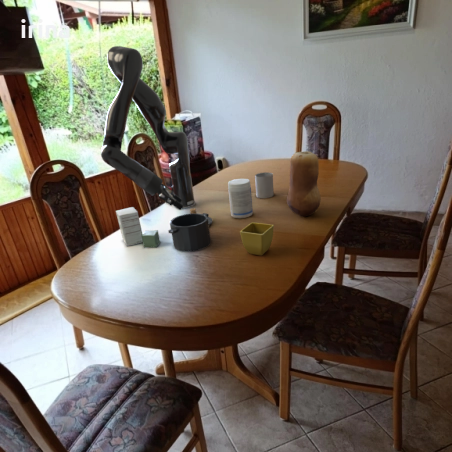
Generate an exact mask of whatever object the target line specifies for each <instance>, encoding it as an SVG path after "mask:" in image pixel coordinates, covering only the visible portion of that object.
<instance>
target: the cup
mask: <svg viewBox="0 0 452 452" xmlns="http://www.w3.org/2000/svg"><path fill="white" fill-rule="evenodd" d="M254 180H255V195H256V198H258V199H270V198H272V197H274V193H275V191H274V173H272V172H266V171H265V172H257V173H256V174H255V175H254Z"/></svg>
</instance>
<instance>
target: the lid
mask: <svg viewBox="0 0 452 452" xmlns="http://www.w3.org/2000/svg"><path fill="white" fill-rule="evenodd" d="M192 213H198V212H197V208H195V207H193V208H192V207H191V208H190V209H189V214H192ZM208 223H209V226H211V225H212V224H213V218H212V217H211V216H208Z"/></svg>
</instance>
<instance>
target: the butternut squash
mask: <svg viewBox="0 0 452 452" xmlns="http://www.w3.org/2000/svg"><path fill="white" fill-rule="evenodd" d="M319 164H320V163H319V157H318V156H317V154H316V153H313V152H311V151H308V150H304V151H298V152H294V153H293V154H292V155H291V157H290V160H289V188H288V193H287V197H286V204H287V206H288V208H289V209H290V210H291V211H292V213H295V214H296V215H298V216H299V217H304V218H306V217H308V216H311V215H313V214H314V213H316V211H317V210H318V209H319V207H320V205H321V201H322V200H321V193H320V189H319V187H318V179H319V174H320V173H319V172H320V171H319V167H320V166H319Z"/></svg>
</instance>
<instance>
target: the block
mask: <svg viewBox="0 0 452 452" xmlns="http://www.w3.org/2000/svg"><path fill="white" fill-rule="evenodd" d="M142 240H143V242H142V244H143V248H144V249H147V248H148V249H149V248H150V249H151V248H152V249H153V248H157V247H158V246H159V245H160V243H161V239H160V235H159V230H158V229H155V230H153V229H152V230H145V231H144V232H142Z"/></svg>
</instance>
